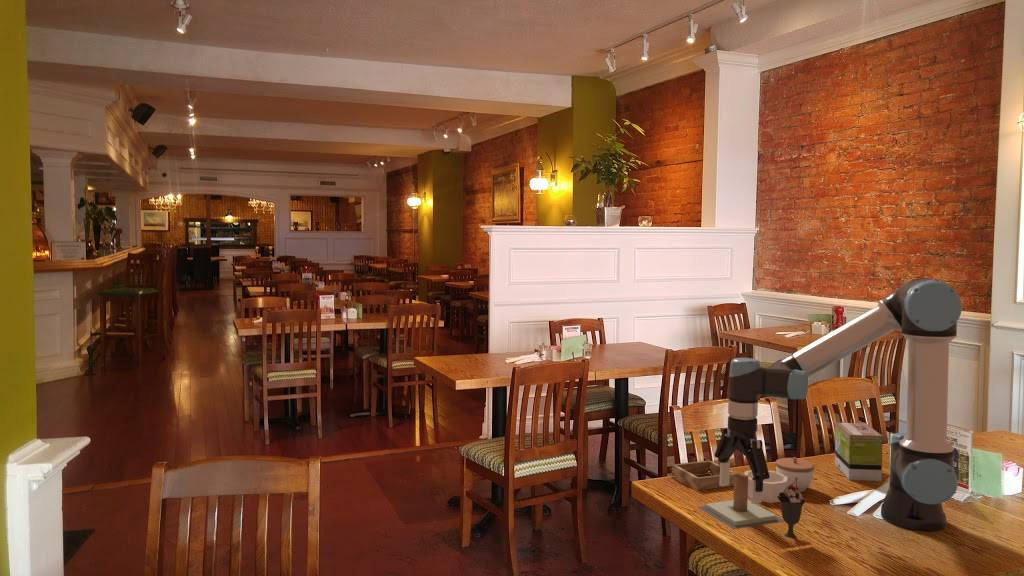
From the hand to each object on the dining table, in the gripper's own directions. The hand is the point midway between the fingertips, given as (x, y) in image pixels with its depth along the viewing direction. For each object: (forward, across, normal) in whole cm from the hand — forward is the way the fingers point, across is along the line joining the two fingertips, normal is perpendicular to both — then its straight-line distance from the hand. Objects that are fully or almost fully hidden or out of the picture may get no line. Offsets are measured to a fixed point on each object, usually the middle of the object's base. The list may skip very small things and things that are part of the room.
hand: (739, 494), depth 193 cm
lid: (+5, 0, 0) cm, 5 cm away
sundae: (+6, -16, -3) cm, 18 cm away
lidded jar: (+6, +13, -29) cm, 33 cm away
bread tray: (+6, +26, -7) cm, 28 cm away
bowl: (+6, +10, -16) cm, 20 cm away
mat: (+6, 0, 0) cm, 6 cm away
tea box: (+6, +18, -58) cm, 61 cm away
